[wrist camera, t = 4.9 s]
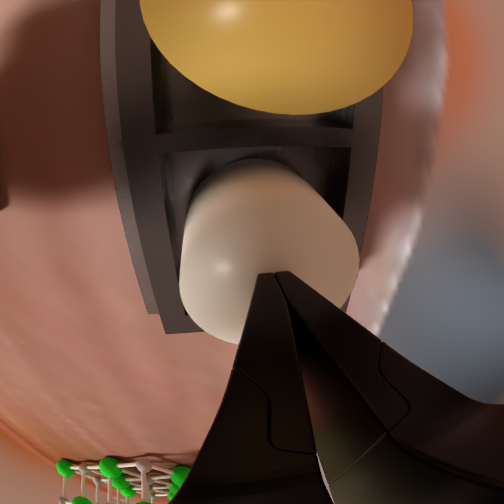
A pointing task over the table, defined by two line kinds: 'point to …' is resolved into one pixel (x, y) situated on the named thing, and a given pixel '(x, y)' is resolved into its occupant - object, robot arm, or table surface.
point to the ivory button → (259, 242)
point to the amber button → (283, 48)
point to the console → (209, 152)
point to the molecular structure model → (123, 480)
